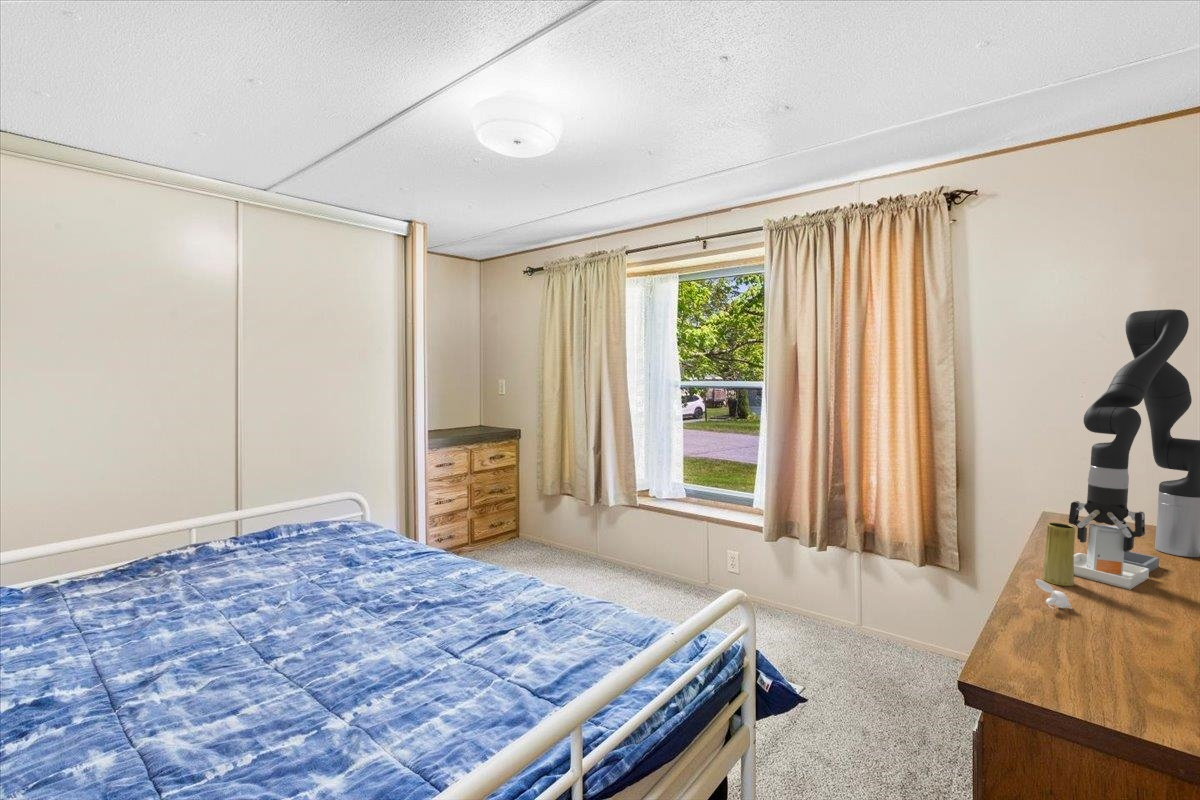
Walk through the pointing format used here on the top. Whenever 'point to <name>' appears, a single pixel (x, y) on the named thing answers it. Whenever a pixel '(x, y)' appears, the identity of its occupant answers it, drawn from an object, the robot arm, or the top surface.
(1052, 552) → the vase
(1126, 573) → the tray
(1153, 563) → the frame
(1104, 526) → the skincare box
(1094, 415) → the robot arm
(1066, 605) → the rabbit figurine
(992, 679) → the top surface
